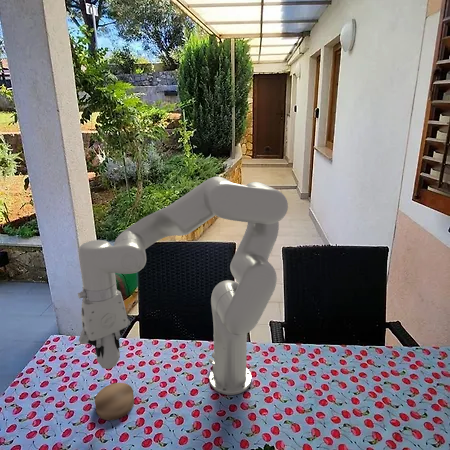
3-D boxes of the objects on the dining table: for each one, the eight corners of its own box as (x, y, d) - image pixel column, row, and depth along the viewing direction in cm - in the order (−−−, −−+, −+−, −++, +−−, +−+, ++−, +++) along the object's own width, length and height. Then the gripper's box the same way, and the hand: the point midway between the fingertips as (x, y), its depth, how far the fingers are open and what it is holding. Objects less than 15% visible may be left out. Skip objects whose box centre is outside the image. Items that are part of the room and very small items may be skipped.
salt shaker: (113, 373, 86) (108, 328, 83) (93, 369, 88) (87, 325, 84) (124, 357, 92) (120, 315, 88) (105, 355, 93) (100, 313, 89)
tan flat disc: (90, 403, 94) (89, 395, 93) (124, 385, 100) (123, 377, 100) (105, 427, 87) (103, 417, 86) (140, 406, 93) (139, 397, 92)
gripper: (71, 308, 76) (81, 377, 81) (138, 285, 86) (143, 347, 91) (60, 296, 81) (71, 361, 86) (125, 276, 91) (130, 335, 97)
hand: (108, 353), depth 89 cm, fingers closed on salt shaker, 3 cm apart
